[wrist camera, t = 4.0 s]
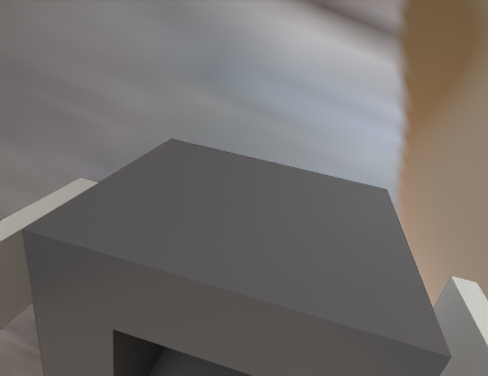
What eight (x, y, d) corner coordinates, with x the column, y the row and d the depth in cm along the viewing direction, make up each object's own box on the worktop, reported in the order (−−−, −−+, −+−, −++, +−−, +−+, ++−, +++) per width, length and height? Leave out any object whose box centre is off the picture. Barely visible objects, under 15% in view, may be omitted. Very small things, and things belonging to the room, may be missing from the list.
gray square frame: (171, 138, 11) (6, 237, 5) (386, 189, 10) (459, 375, 4) (160, 296, 14) (47, 466, 8) (325, 348, 13) (322, 579, 7)
